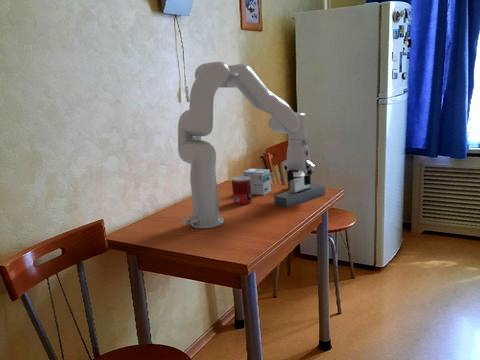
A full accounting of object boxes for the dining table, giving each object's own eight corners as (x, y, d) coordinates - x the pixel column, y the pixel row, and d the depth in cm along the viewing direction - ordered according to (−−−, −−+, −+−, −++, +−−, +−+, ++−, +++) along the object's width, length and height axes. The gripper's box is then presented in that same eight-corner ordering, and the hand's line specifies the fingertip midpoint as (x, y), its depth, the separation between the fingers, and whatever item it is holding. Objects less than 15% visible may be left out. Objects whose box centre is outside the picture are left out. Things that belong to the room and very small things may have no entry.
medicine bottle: (288, 191, 202) (287, 165, 199) (291, 187, 209) (289, 162, 206) (303, 191, 200) (302, 165, 197) (306, 187, 207) (305, 162, 204)
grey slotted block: (286, 207, 177) (286, 198, 176) (274, 204, 182) (274, 195, 182) (325, 194, 192) (324, 185, 191) (312, 192, 197) (312, 183, 196)
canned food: (252, 204, 185) (250, 179, 183) (233, 205, 185) (231, 180, 183) (252, 199, 193) (250, 175, 190) (233, 200, 193) (231, 176, 190)
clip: (304, 194, 191) (303, 176, 189) (309, 195, 189) (309, 177, 187) (290, 199, 185) (289, 180, 183) (295, 200, 183) (294, 181, 181)
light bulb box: (271, 191, 203) (269, 169, 201) (264, 195, 198) (262, 172, 195) (251, 190, 209) (249, 168, 207) (244, 193, 204) (242, 171, 201)
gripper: (319, 143, 177) (320, 184, 181) (288, 140, 190) (290, 178, 194) (307, 145, 173) (308, 187, 176) (276, 142, 186) (278, 181, 189)
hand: (298, 182), depth 185 cm, fingers open, 9 cm apart
